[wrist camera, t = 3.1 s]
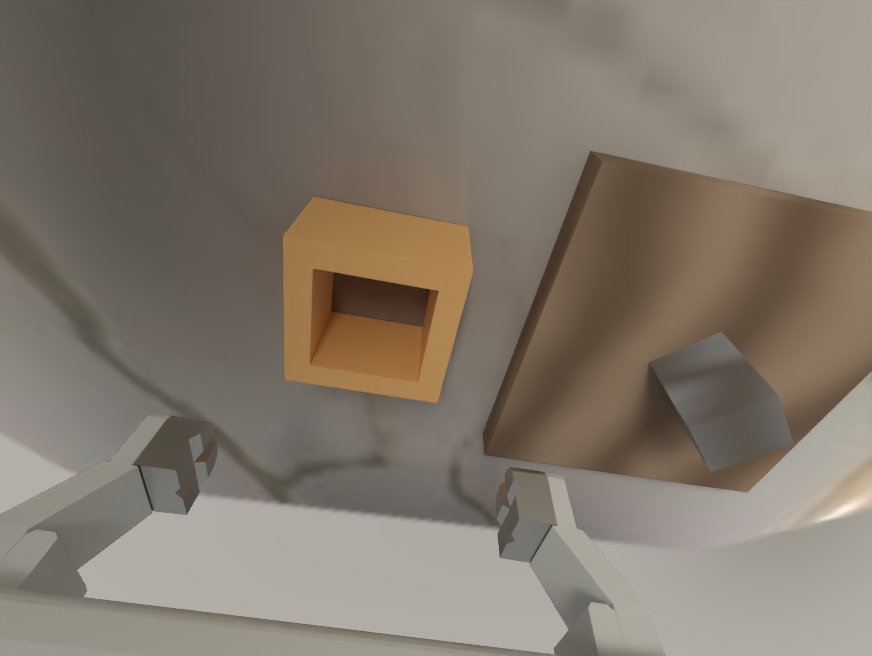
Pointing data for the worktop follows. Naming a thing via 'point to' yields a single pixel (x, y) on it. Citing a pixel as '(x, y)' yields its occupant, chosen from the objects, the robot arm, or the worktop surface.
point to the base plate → (687, 328)
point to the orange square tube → (361, 336)
